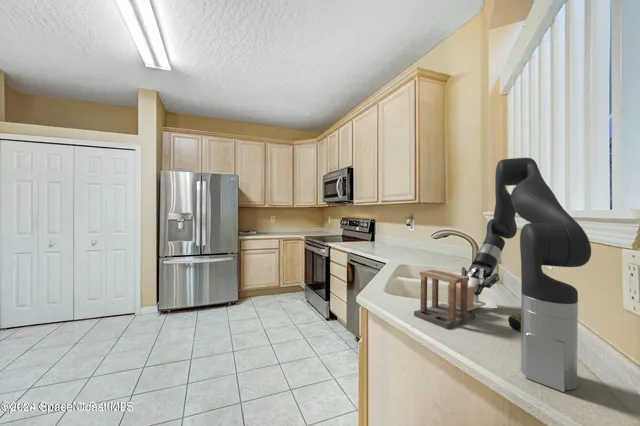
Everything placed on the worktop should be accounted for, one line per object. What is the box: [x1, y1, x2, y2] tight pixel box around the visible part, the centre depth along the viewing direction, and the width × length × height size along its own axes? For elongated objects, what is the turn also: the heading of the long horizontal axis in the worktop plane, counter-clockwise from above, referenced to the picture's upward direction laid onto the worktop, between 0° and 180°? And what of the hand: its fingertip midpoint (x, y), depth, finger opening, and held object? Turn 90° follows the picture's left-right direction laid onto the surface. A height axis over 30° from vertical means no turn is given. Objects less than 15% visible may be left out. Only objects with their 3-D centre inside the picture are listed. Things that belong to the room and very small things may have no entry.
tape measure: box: [507, 314, 521, 332], centre depth 80 cm, size 7×7×4 cm
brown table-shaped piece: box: [413, 269, 476, 330], centre depth 89 cm, size 16×13×15 cm
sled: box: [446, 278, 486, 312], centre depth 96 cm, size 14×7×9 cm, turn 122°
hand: (470, 292), depth 98 cm, fingers closed on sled, 3 cm apart
